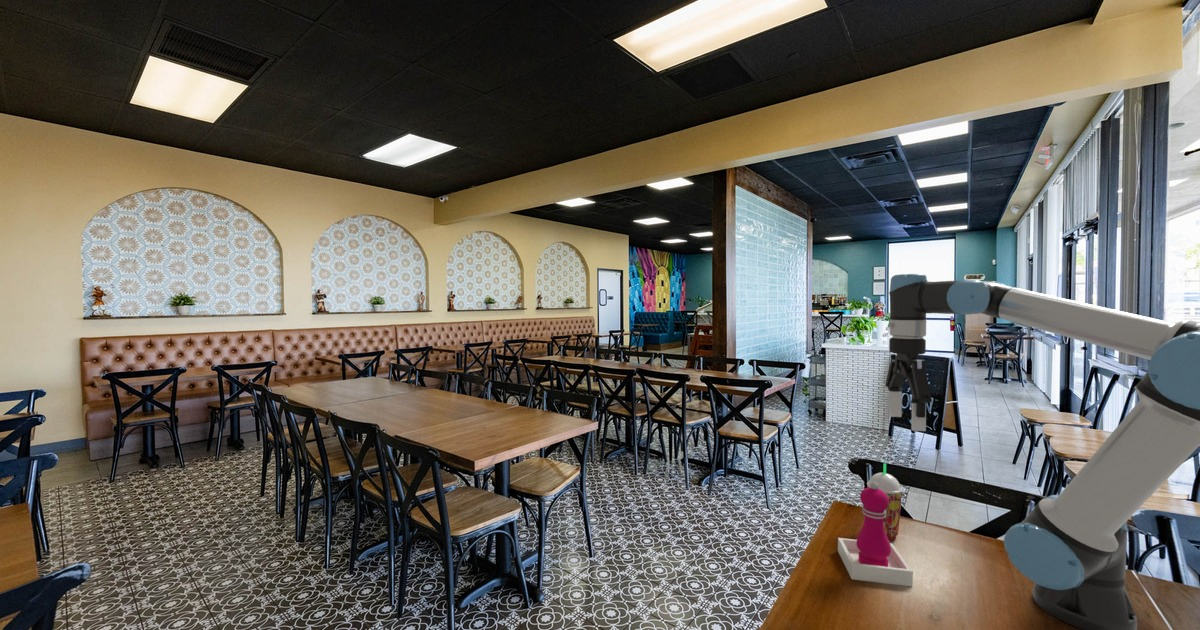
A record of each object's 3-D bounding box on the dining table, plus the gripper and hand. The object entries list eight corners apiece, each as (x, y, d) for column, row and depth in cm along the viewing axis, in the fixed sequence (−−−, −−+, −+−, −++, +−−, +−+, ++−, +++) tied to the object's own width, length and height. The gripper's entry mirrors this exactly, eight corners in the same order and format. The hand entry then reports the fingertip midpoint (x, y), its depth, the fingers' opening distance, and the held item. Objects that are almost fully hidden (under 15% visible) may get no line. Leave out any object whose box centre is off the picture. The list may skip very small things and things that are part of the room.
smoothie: (859, 529, 134) (860, 459, 133) (885, 526, 136) (886, 457, 135) (881, 544, 126) (883, 470, 125) (909, 541, 127) (910, 467, 127)
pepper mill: (895, 573, 111) (897, 489, 110) (861, 570, 112) (863, 487, 111) (883, 557, 118) (885, 477, 117) (852, 554, 119) (853, 475, 119)
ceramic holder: (892, 557, 120) (892, 543, 120) (912, 586, 108) (912, 571, 107) (837, 551, 123) (838, 537, 123) (851, 579, 110) (851, 564, 110)
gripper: (872, 333, 129) (871, 410, 130) (912, 341, 105) (911, 436, 106) (903, 333, 128) (902, 412, 129) (950, 341, 104) (949, 438, 104)
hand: (906, 423), depth 117 cm, fingers open, 13 cm apart
